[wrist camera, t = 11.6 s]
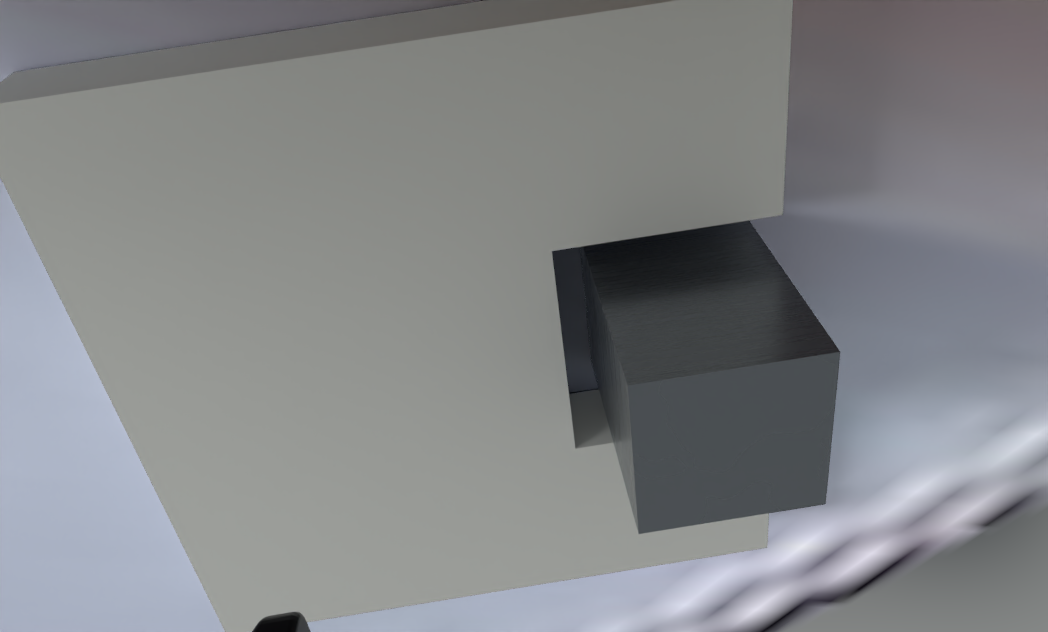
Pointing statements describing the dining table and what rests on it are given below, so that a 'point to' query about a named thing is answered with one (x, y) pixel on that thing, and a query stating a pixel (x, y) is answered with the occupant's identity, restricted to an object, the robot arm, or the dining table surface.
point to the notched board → (388, 277)
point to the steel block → (709, 376)
